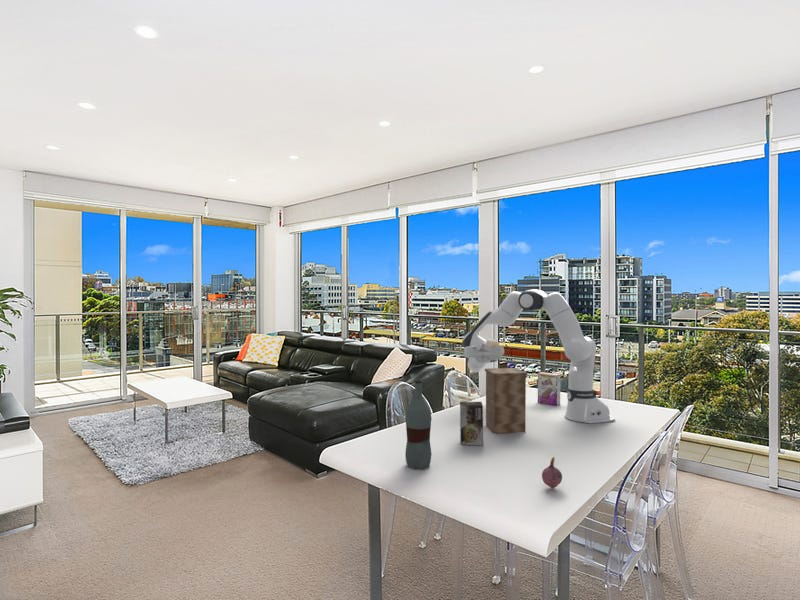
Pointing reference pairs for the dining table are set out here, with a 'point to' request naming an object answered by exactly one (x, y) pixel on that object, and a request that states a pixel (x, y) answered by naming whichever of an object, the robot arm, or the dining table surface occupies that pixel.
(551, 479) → the vegetable
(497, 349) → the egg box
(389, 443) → the dining table surface
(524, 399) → the lidded wooden crate
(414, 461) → the bottle
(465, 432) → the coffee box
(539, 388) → the candy bar box
